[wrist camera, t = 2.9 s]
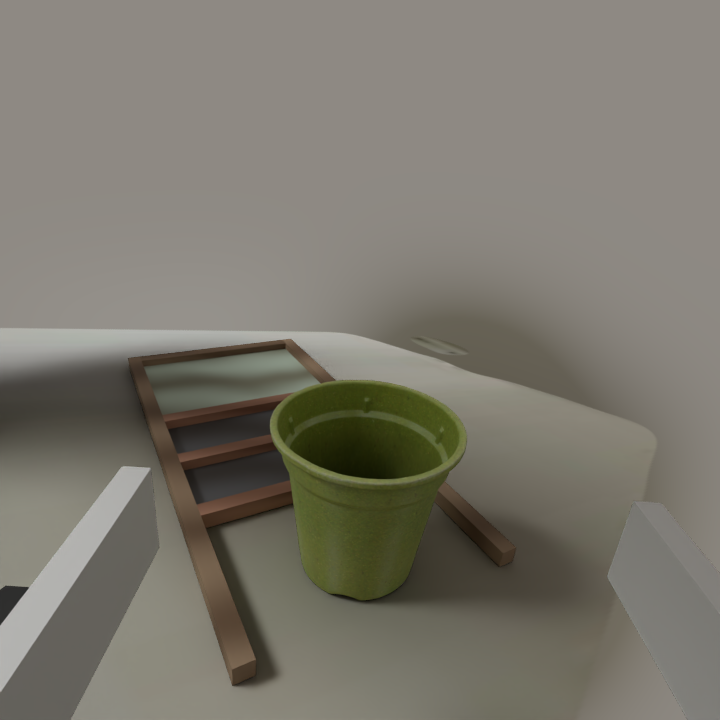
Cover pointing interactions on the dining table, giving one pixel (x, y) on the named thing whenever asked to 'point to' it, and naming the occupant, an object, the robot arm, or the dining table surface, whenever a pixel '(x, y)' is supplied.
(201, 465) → the frame
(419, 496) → the plant pot
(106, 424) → the dining table surface
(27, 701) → the robot arm
